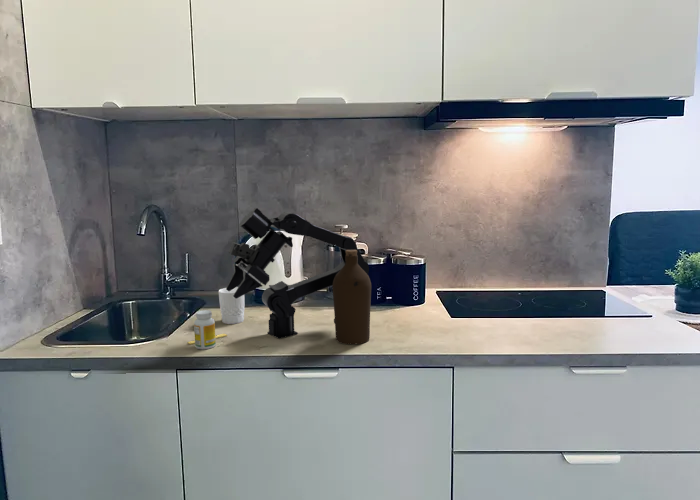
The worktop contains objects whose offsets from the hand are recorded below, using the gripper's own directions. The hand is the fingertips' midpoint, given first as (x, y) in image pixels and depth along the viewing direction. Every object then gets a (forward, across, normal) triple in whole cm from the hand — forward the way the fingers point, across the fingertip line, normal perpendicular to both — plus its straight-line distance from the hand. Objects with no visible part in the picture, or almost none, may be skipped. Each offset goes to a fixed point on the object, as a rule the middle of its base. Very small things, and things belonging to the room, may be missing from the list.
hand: (230, 293), depth 145 cm
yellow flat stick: (+14, -5, +5) cm, 16 cm away
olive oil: (-11, +13, +32) cm, 36 cm away
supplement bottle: (+15, 0, +4) cm, 16 cm away
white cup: (+7, -20, +12) cm, 25 cm away
